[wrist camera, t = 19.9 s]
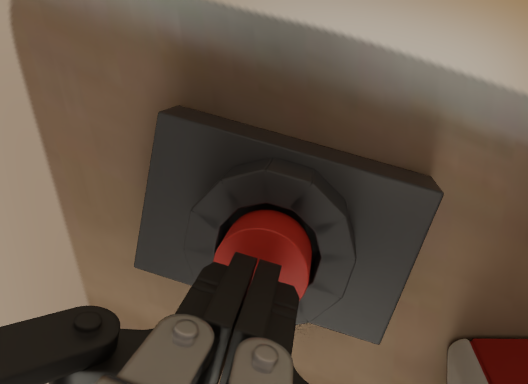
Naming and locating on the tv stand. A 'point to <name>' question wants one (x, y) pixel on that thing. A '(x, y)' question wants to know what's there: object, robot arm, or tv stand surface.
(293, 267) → the button
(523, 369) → the red striped gift box
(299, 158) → the switch box
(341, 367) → the tv stand surface
